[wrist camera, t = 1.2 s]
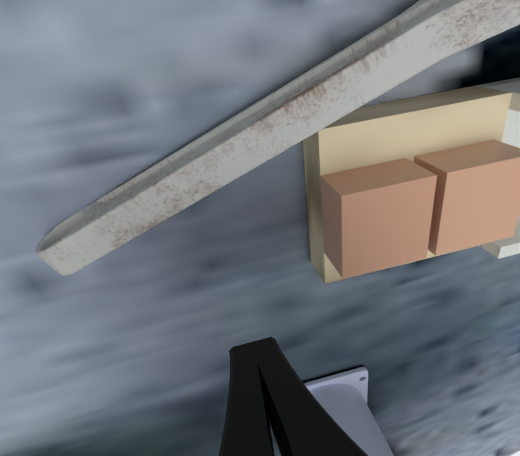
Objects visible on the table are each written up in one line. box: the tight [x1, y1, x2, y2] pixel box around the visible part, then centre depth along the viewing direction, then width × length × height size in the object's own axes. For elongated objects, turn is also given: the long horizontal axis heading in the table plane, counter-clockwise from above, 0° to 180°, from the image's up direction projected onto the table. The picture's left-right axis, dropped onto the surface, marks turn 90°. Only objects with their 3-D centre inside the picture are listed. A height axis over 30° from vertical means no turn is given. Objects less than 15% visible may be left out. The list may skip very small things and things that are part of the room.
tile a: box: [414, 140, 520, 256], centre depth 18 cm, size 4×4×2 cm
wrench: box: [36, 0, 520, 276], centre depth 15 cm, size 8×2×30 cm
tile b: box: [320, 158, 437, 279], centre depth 18 cm, size 4×4×2 cm
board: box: [303, 86, 512, 284], centre depth 20 cm, size 9×10×2 cm
